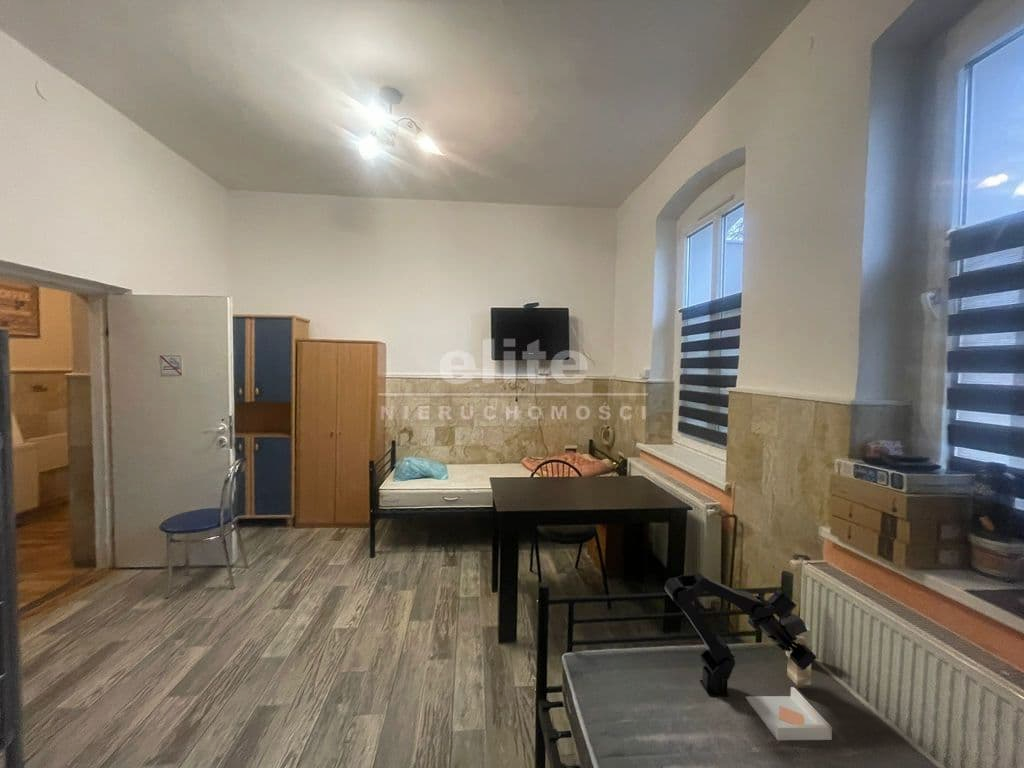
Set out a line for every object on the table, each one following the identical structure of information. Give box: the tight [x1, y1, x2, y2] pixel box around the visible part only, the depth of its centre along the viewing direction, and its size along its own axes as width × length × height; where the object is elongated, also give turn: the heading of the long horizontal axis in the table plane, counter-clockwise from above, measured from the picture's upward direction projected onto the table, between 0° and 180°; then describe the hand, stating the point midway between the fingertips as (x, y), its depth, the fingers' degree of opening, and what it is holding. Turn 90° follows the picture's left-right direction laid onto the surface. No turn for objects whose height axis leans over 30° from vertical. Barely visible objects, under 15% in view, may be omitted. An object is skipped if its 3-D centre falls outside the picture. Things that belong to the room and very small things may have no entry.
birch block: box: [786, 636, 813, 686], centre depth 135 cm, size 4×4×13 cm
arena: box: [745, 686, 833, 741], centre depth 124 cm, size 16×15×4 cm
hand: (803, 659), depth 135 cm, fingers closed on birch block, 4 cm apart
